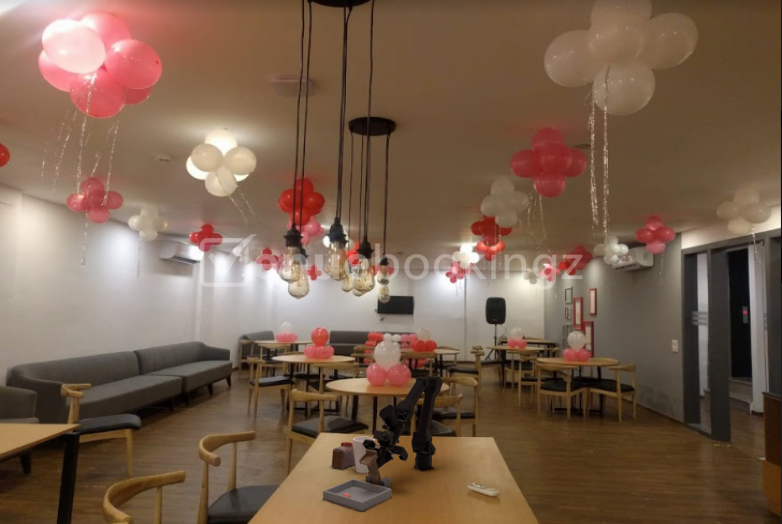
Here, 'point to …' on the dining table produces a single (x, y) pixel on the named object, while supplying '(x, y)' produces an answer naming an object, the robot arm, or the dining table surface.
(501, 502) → the dining table surface
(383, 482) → the lever stand
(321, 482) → the dining table surface
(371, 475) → the lever
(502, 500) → the dining table surface
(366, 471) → the foam cup
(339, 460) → the food item
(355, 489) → the tray
